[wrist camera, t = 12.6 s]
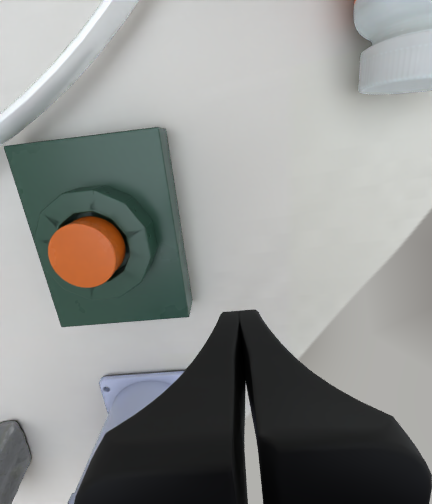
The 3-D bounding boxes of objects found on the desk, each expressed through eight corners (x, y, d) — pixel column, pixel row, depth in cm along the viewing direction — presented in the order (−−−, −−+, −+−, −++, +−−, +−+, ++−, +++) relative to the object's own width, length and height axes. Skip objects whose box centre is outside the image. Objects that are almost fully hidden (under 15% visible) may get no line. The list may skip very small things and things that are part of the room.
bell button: (131, 272, 18) (122, 285, 17) (73, 277, 19) (58, 290, 17) (118, 212, 17) (107, 220, 16) (56, 219, 18) (38, 227, 16)
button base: (192, 301, 23) (185, 332, 19) (75, 311, 24) (47, 343, 20) (165, 128, 19) (150, 125, 15) (26, 145, 20) (-22, 146, 16)
